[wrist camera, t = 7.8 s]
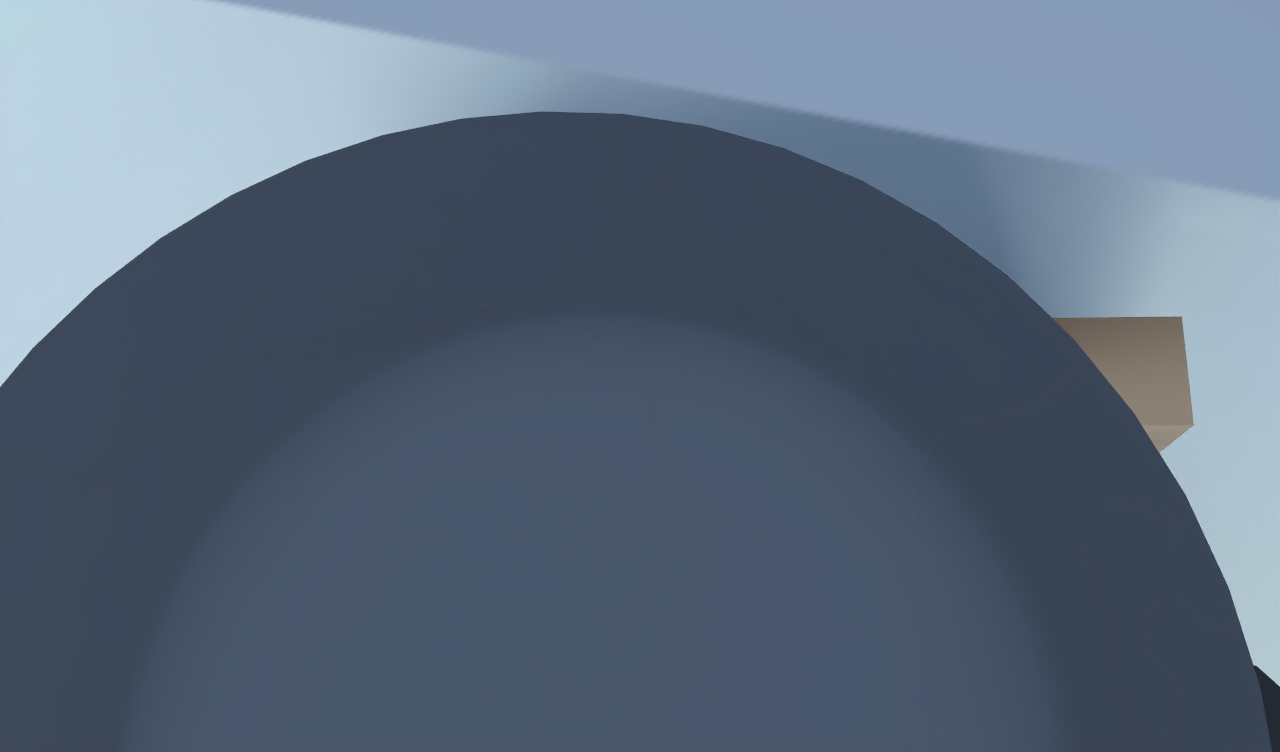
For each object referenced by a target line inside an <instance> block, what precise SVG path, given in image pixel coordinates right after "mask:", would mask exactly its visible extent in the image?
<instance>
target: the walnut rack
mask: <svg viewBox="0 0 1280 752" xmlns="http://www.w3.org/2000/svg"><path fill="white" fill-rule="evenodd" d="M1052 319H1053V320H1054V321H1055V322H1056V323H1058V324H1059V325H1060V326H1061V327H1062V328H1063V329H1064V330H1065V331H1066V332H1067V333H1068V334H1069V335H1070V336H1071V337H1072V338H1073V339H1074V340H1075V341H1076V342H1077V344H1078V345H1079V346H1080V347H1081V348H1082V350H1083V351H1084V352H1085V353H1086V355H1087V356H1088V357H1089V358H1090V359H1091V361H1092V362H1093V363H1094V364H1095V366H1096V367H1097V368H1098V369H1099V370H1100V372H1101V373H1102V374H1103V375H1104V377H1105V378H1106V379H1107V380H1108V382H1109V383H1110V384H1111V385H1112V386H1113V388H1114V389H1115V390H1116V391H1117V393H1118V394H1119V395H1120V396H1121V397H1122V399H1123V400H1124V401H1125V402H1126V404H1127V405H1128V406H1129V407H1130V408H1131V410H1132V411H1133V412H1134V414H1135V415H1136V417H1137V418H1138V420H1139V422H1140V423H1141V425H1142V426H1143V428H1144V430H1145V431H1146V433H1147V434H1148V436H1149V438H1150V439H1151V441H1152V442H1153V444H1154V446H1155V447H1156V449H1157V450H1158V452H1160V451H1162V450H1163V449H1164V448H1165V447H1167V446H1168V445H1169V444H1170V443H1172V442H1173V441H1174V440H1175V439H1177V438H1178V437H1179V436H1180V435H1182V434H1183V433H1184V432H1185V431H1187V430H1188V429H1189V428H1190V427H1192V426H1193V425H1194V424H1193V415H1192V406H1191V397H1190V388H1189V379H1188V370H1187V361H1186V352H1185V343H1184V334H1183V325H1182V317H1114V318H1052Z"/></svg>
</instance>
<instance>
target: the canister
mask: <svg viewBox="0 0 1280 752" xmlns="http://www.w3.org/2000/svg"><path fill="white" fill-rule="evenodd" d="M0 752H1272V748H1271V743H1270V737H1269V732H1268V726H1267V721H1266V715H1265V710H1264V705H1263V699H1262V694H1261V688H1260V685H1259V682H1258V679H1257V675H1256V672H1255V669H1254V666H1253V663H1252V660H1251V657H1250V653H1249V650H1248V647H1247V644H1246V641H1245V638H1244V635H1243V632H1242V628H1241V625H1240V622H1239V619H1238V616H1237V613H1236V610H1235V606H1234V603H1233V600H1232V597H1231V594H1230V591H1229V588H1228V585H1227V583H1226V581H1225V579H1224V577H1223V575H1222V572H1221V570H1220V568H1219V566H1218V564H1217V562H1216V560H1215V557H1214V555H1213V553H1212V551H1211V549H1210V547H1209V544H1208V542H1207V540H1206V538H1205V536H1204V534H1203V532H1202V529H1201V527H1200V525H1199V523H1198V521H1197V519H1196V516H1195V514H1194V512H1193V510H1192V508H1191V506H1190V504H1189V501H1188V499H1187V497H1186V495H1185V493H1184V492H1183V490H1182V489H1181V487H1180V485H1179V484H1178V482H1177V481H1176V479H1175V478H1174V476H1173V474H1172V473H1171V471H1170V470H1169V468H1168V466H1167V465H1166V463H1165V462H1164V460H1163V458H1162V457H1161V455H1160V454H1159V452H1158V450H1157V449H1156V447H1155V446H1154V444H1153V442H1152V441H1151V439H1150V438H1149V436H1148V434H1147V433H1146V431H1145V430H1144V428H1143V426H1142V425H1141V423H1140V422H1139V420H1138V418H1137V417H1136V415H1135V414H1134V412H1133V411H1132V410H1131V408H1130V407H1129V406H1128V405H1127V404H1126V402H1125V401H1124V400H1123V399H1122V397H1121V396H1120V395H1119V394H1118V393H1117V391H1116V390H1115V389H1114V388H1113V386H1112V385H1111V384H1110V383H1109V382H1108V380H1107V379H1106V378H1105V377H1104V375H1103V374H1102V373H1101V372H1100V370H1099V369H1098V368H1097V367H1096V366H1095V364H1094V363H1093V362H1092V361H1091V359H1090V358H1089V357H1088V356H1087V355H1086V353H1085V352H1084V351H1083V350H1082V348H1081V347H1080V346H1079V345H1078V344H1077V342H1076V341H1075V340H1074V339H1073V338H1072V337H1071V336H1070V335H1069V334H1068V333H1067V332H1066V331H1065V330H1064V329H1063V328H1062V327H1061V326H1060V325H1059V324H1058V323H1056V322H1055V321H1054V320H1053V319H1052V318H1051V317H1050V316H1049V315H1048V314H1047V313H1046V312H1045V311H1044V310H1043V309H1042V308H1041V307H1040V306H1039V305H1038V304H1037V303H1036V302H1035V301H1033V300H1032V299H1031V298H1030V297H1029V296H1028V295H1027V294H1026V293H1025V292H1024V291H1023V290H1022V289H1021V288H1020V287H1019V286H1018V285H1017V284H1016V283H1015V282H1014V281H1013V280H1011V279H1010V278H1009V277H1008V276H1007V275H1006V274H1004V273H1003V272H1002V271H1000V270H999V269H998V268H996V267H995V266H994V265H992V264H991V263H990V262H988V261H987V260H986V259H984V258H983V257H982V256H980V255H979V254H977V253H976V252H975V251H973V250H972V249H971V248H969V247H968V246H967V245H965V244H964V243H963V242H961V241H960V240H959V239H957V238H956V237H955V236H953V235H952V234H951V233H949V232H948V231H946V230H945V229H944V228H942V227H941V226H940V225H938V224H937V223H935V222H934V221H932V220H930V219H928V218H927V217H925V216H923V215H921V214H920V213H918V212H916V211H914V210H912V209H911V208H909V207H907V206H905V205H904V204H902V203H900V202H898V201H897V200H895V199H893V198H891V197H890V196H888V195H886V194H884V193H882V192H881V191H879V190H877V189H875V188H874V187H872V186H870V185H868V184H867V183H865V182H863V181H861V180H859V179H856V178H854V177H852V176H849V175H847V174H844V173H842V172H839V171H837V170H835V169H832V168H830V167H827V166H825V165H823V164H820V163H818V162H815V161H813V160H810V159H808V158H806V157H803V156H801V155H798V154H796V153H793V152H791V151H789V150H786V149H784V148H780V147H777V146H773V145H770V144H766V143H762V142H759V141H755V140H752V139H748V138H744V137H741V136H737V135H733V134H730V133H726V132H723V131H719V130H715V129H712V128H708V127H705V126H699V125H692V124H686V123H679V122H672V121H666V120H659V119H652V118H646V117H639V116H632V115H626V114H604V113H569V112H533V113H521V114H510V115H499V116H488V117H477V118H466V119H458V120H454V121H449V122H444V123H439V124H434V125H430V126H425V127H420V128H415V129H410V130H406V131H401V132H396V133H391V134H386V135H382V136H379V137H376V138H373V139H370V140H367V141H364V142H361V143H358V144H355V145H352V146H349V147H346V148H343V149H340V150H337V151H334V152H331V153H328V154H325V155H322V156H319V157H316V158H313V159H310V160H307V161H304V162H302V163H300V164H298V165H296V166H293V167H291V168H289V169H287V170H285V171H283V172H281V173H278V174H276V175H274V176H272V177H270V178H268V179H265V180H263V181H261V182H259V183H257V184H255V185H252V186H250V187H248V188H246V189H244V190H242V191H240V192H237V193H235V194H233V195H231V196H229V197H228V198H226V199H224V200H223V201H221V202H220V203H218V204H216V205H215V206H213V207H211V208H210V209H208V210H206V211H205V212H203V213H201V214H200V215H198V216H196V217H195V218H193V219H192V220H190V221H188V222H187V223H185V224H183V225H182V226H180V227H178V228H177V229H175V230H173V231H172V232H170V233H168V234H167V235H165V236H164V237H162V238H160V239H159V240H158V241H156V242H155V243H154V244H153V245H151V246H150V247H149V248H147V249H146V250H145V251H143V252H142V253H141V254H140V255H138V256H137V257H136V258H134V259H133V260H132V261H130V262H129V263H128V264H127V265H125V266H124V267H123V268H121V269H120V270H119V271H117V272H116V273H115V274H114V275H112V276H111V277H110V278H108V279H107V280H106V281H104V282H103V283H102V284H101V285H99V286H98V287H97V288H95V289H94V290H93V291H92V292H91V293H90V294H89V295H88V296H87V297H86V298H85V299H84V300H83V301H82V302H81V303H80V304H79V305H77V306H76V307H75V308H74V309H73V310H72V311H71V312H70V313H69V314H68V315H67V316H66V317H65V318H64V319H63V320H62V321H61V322H60V323H59V324H58V325H57V326H56V327H55V328H53V329H52V330H51V331H50V332H49V333H48V334H47V335H46V336H45V337H44V338H43V339H42V340H41V341H40V342H39V343H38V344H37V345H36V346H35V347H34V348H33V349H32V350H31V351H30V352H29V354H28V355H27V356H26V357H25V358H24V359H23V361H22V362H21V363H20V364H19V365H18V367H17V368H16V369H15V370H14V371H13V373H12V374H11V375H10V376H9V377H8V379H7V380H6V381H5V382H4V383H3V384H2V386H1V387H0Z"/></svg>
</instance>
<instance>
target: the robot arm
mask: <svg viewBox="0 0 1280 752" xmlns="http://www.w3.org/2000/svg"><path fill="white" fill-rule="evenodd" d="M1254 669H1255V672H1256V675H1257V679H1258V682H1259V685H1260V688H1261V694H1262V699H1263V705H1264V710H1265V715H1266V721H1267V726H1268V732H1269V737H1270V743H1271V748H1272V752H1280V687H1279V686H1278V685H1277V684H1276V683H1275V682H1274V681H1273V680H1272V679H1270V678H1269V677H1268V676H1267V675H1266V674H1265V673H1264V672H1263V671H1261V670H1260V669H1259V668H1258V667H1257V666H1254Z"/></svg>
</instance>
